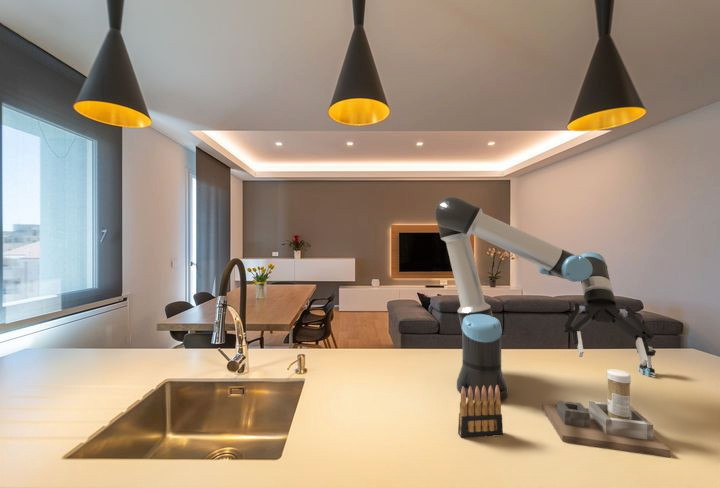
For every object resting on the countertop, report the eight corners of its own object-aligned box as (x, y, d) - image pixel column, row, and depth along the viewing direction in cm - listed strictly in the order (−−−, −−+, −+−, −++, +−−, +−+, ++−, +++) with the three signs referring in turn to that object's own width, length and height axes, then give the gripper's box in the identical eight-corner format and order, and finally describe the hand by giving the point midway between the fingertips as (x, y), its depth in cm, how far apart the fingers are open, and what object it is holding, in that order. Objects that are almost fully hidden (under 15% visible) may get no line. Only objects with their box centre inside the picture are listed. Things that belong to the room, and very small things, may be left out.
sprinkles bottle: (608, 419, 82) (608, 367, 82) (631, 425, 79) (631, 371, 79) (606, 426, 79) (606, 372, 79) (630, 433, 76) (630, 377, 76)
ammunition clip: (498, 431, 79) (499, 383, 79) (503, 435, 77) (503, 386, 78) (457, 433, 78) (458, 384, 78) (461, 438, 76) (461, 388, 76)
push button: (663, 379, 111) (662, 350, 111) (646, 378, 112) (646, 349, 112) (648, 371, 118) (648, 344, 118) (632, 370, 119) (632, 344, 119)
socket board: (562, 441, 75) (562, 420, 75) (542, 408, 90) (541, 390, 90) (670, 456, 70) (669, 434, 70) (628, 418, 85) (628, 400, 85)
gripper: (646, 305, 95) (669, 373, 81) (550, 298, 106) (555, 357, 92) (654, 290, 90) (679, 359, 76) (552, 284, 101) (558, 344, 87)
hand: (612, 358), depth 84 cm, fingers open, 13 cm apart
